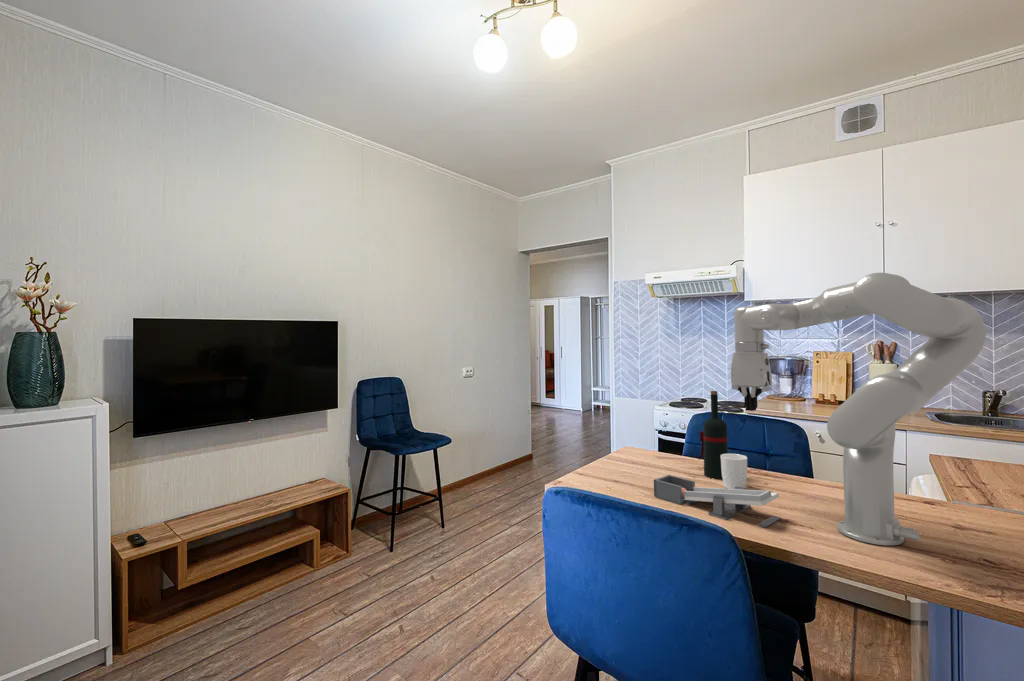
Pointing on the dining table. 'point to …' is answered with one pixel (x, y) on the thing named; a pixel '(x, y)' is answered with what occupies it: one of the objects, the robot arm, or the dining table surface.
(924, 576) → the dining table surface
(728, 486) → the white cup
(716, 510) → the stand
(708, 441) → the wine bottle
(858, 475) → the robot arm
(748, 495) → the seesaw
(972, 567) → the dining table surface
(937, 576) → the dining table surface
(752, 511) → the dining table surface
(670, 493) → the grey open cubby box
